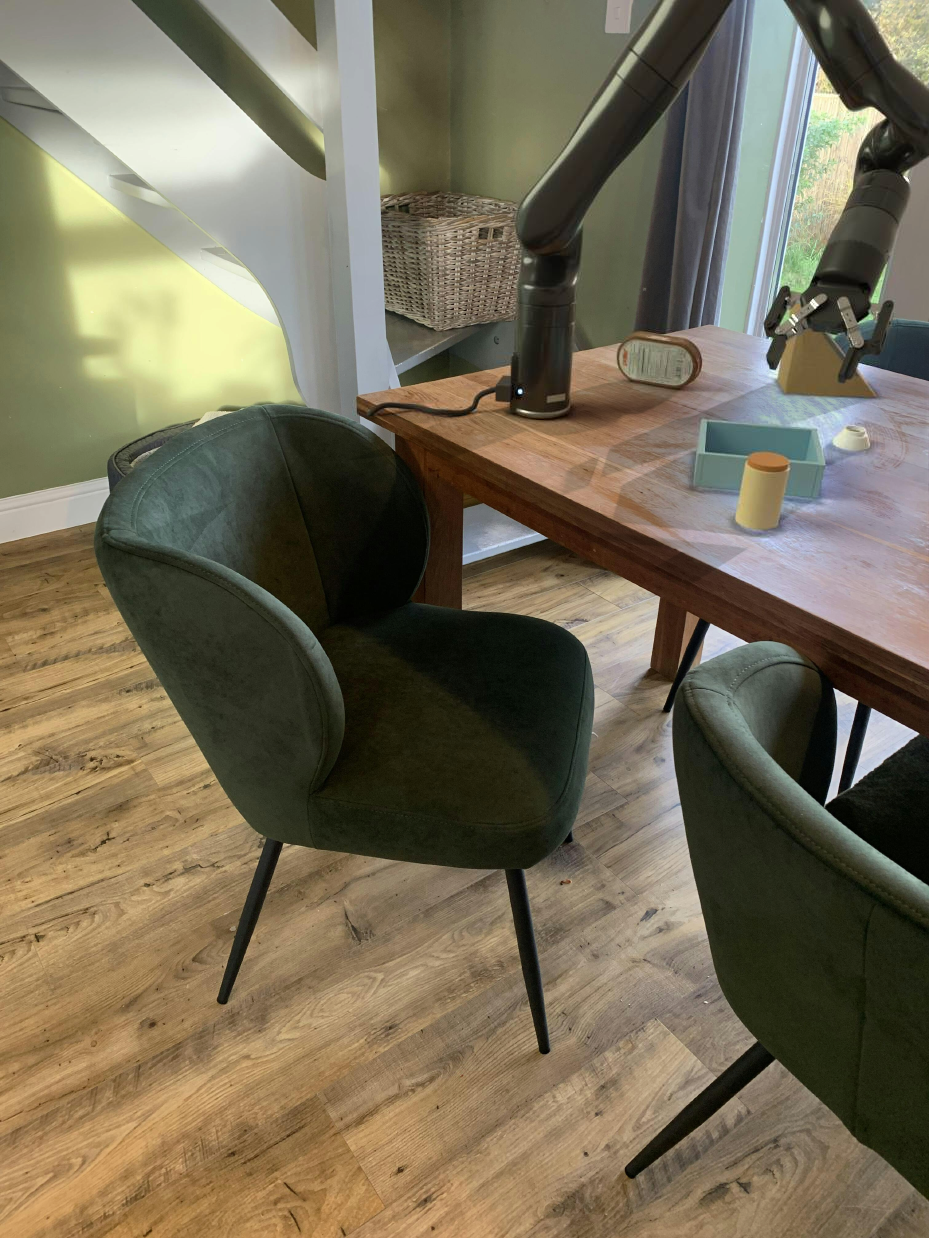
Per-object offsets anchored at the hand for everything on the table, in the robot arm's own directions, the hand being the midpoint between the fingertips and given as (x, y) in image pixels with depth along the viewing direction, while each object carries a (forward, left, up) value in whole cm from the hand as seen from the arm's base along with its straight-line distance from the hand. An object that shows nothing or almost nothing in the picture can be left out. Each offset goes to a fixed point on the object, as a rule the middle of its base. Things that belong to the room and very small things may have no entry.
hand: (805, 373), depth 108 cm
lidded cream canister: (-4, -12, -15) cm, 20 cm away
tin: (-20, +42, -15) cm, 49 cm away
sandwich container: (+9, +47, -15) cm, 50 cm away
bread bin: (-4, +3, -15) cm, 16 cm away
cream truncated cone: (+10, +18, -15) cm, 26 cm away
